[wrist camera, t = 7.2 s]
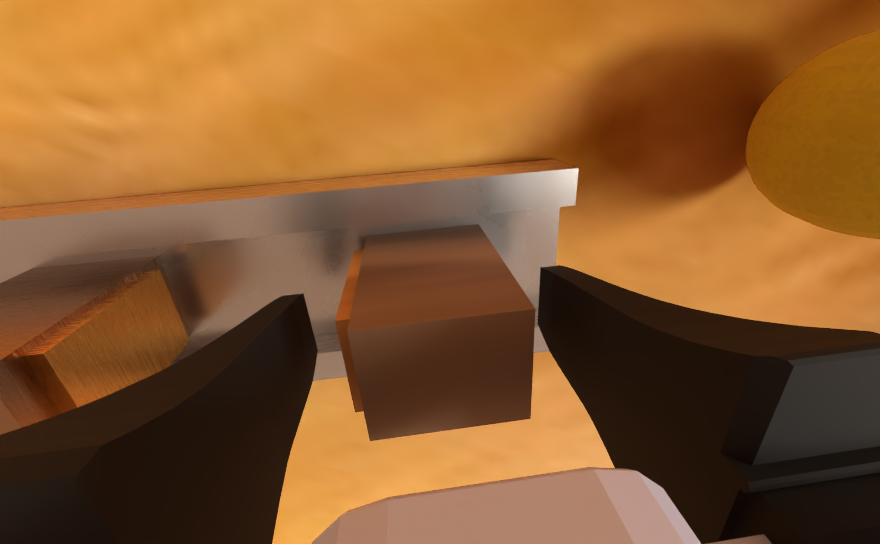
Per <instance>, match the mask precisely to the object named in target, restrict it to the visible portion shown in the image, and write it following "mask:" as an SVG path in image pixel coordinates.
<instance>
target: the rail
mask: <svg viewBox="0 0 880 544" xmlns="http://www.w3.org/2000/svg"><path fill="white" fill-rule="evenodd" d="M578 170H579V168H577V167H574V166H572V165H569V164H566V163H564V162H561V161H558V160H556V159H547V160H536V161H525V162H514V163H502V164H491V165H480V166H468V167H457V168H446V169H435V170H423V171H412V172H401V173H390V174H378V175H367V176H356V177H344V178H333V179H322V180H311V181H299V182H288V183H277V184H266V185H254V186H243V187H232V188H221V189H209V190H198V191H187V192H175V193H164V194H153V195H142V196H130V197H119V198H108V199H97V200H85V201H74V202H63V203H51V204H40V205H29V206H18V207H6V208H0V435H1V434H4V433H7V432H10V431H13V430H16V429H19V428H22V427H26V426H29V425H31V424H34V423H37V422H40V421H43V420H45V419H48V418H51V417H54V416H56V415H59V414H62V413H64V412H67V411H70V410H72V409H75V408H78V407H80V406H83V405H85V404H88V403H90V402H92V401H95V400H97V399H100V398H102V397H105V396H107V395H110V394H112V393H114V392H116V391H118V390H121V389H123V388H125V387H127V386H129V385H131V384H134V383H136V382H138V381H140V380H142V379H145V378H147V377H149V376H151V375H153V374H155V373H157V372H159V371H161V370H163V369H165V368H167V367H169V366H171V365H173V364H175V363H176V362H178V361H180V360H182V359H184V358H186V357H187V356H189V355H191V354H193V353H194V352H196V351H198V350H200V349H201V348H203V347H204V346H206V345H208V344H209V343H211V342H212V341H214V340H215V339H217V338H219V337H220V336H222V335H223V334H225V333H226V332H228V331H229V330H231V329H233V328H234V327H236V326H237V325H238V324H240V323H241V322H243V321H244V320H246V319H247V318H249V317H250V316H251V315H253V314H254V313H256V312H257V311H259V310H260V309H262V308H263V307H264V306H266V305H267V304H269V303H270V302H272V301H274V300H275V299H277V298H279V297H281V296H284V295H293V294H304V297H305V301H306V305H307V309H308V313H309V317H310V321H311V325H312V329H313V333H314V337H315V341H316V345H317V349H318V353H317V359H316V366H315V372H314V378H313V381H316V380H324V379H332V378H340V377H347V373H346V368H345V364H344V359H343V355H342V350H341V346H340V341H339V337H338V332H337V328H336V323H335V319H336V315H337V311H338V308H339V304H340V300H341V297H342V293H343V289H344V286H345V282H346V278H347V275H348V271H349V267H350V263H351V260H352V256H353V252H354V250H362V249H364V247H365V242H366V237H367V235H377V234H387V233H397V232H407V231H417V230H427V229H437V228H447V227H457V226H466V225H476V224H479V225H480V227H481V228H482V230H483V231H484V233H485V234H486V236H487V237H488V239H489V240H490V242H491V243H492V245H493V246H494V248H495V249H496V251H497V252H498V254H499V255H500V257H501V258H502V260H503V261H504V263H505V264H506V266H507V267H508V269H509V270H510V272H511V273H512V275H513V276H514V278H515V279H516V281H517V282H518V284H519V285H520V286H521V288H522V289H523V291H524V292H525V294H526V295H527V297H528V298H529V300H530V301H531V303H532V304H533V306H534V307H535V331H534V352H533V353H538V352H546V351H549V349H548V347H547V345H546V342H545V340H544V338H543V336H542V333H541V331H540V328H539V326H538V305H539V285H540V267H549V266H556V255H557V241H558V227H559V213H560V207H565V206H575V203H576V192H577V181H578Z"/></svg>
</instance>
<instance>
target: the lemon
mask: <svg viewBox="0 0 880 544" xmlns="http://www.w3.org/2000/svg"><path fill="white" fill-rule="evenodd" d="M745 154H746V162H747V167H748V171H749V173H750V175H751V177H752V180H753V182H754V184H755V185H756V187H757V188H758V189H759V191H760V192H761V193H762V194H763V195H764V196H765V197H766V198H767V199H769V200H770V201H771V202H772V203H773V204H774V205H775V206H777V207H778V208H779V209H781V210H782V211H784V212H786V213H788V214H790V215H792V216H794V217H797V218H799V219H801V220H804V221H806V222H809V223H811V224H813V225H816V226H818V227H821V228H824V229H827V230H831V231H835V232H839V233H843V234H848V235H853V236H859V237H867V238H874V239H880V30H877V31H873V32H870V33H867V34H864V35H861V36H858V37H855V38H852V39H850V40H847V41H844V42H842V43H840V44H838V45H836V46H834V47H832V48H830V49H828V50H826V51H824V52H823V53H821V54H819V55H818V56H816V57H814V58H812V59H811V60H809V61H807V62H806V63H804V64H803V65H801V66H800V67H798V68H797V69H796V70H795V71H794V72H792V73H791V74H790V75H789V76H788V77H787V78H785V79H784V80H783V81H782V82H781V83H780V84H779V85H777V86H776V87H775V88H774V90H773V91H772V92H771V93H770V94H769V96H768V97H767V98H766V99H765V101H764V102H763V103H762V105H761V107H760V108H759V110H758V112H757V114H756V115H755V117H754V119H753V121H752V124H751V126H750V129H749V132H748V135H747V142H746V149H745Z"/></svg>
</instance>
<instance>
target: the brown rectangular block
mask: <svg viewBox="0 0 880 544" xmlns="http://www.w3.org/2000/svg"><path fill="white" fill-rule="evenodd" d="M335 323H336V328H337V332H338V337H339V341H340V346H341V350H342V355H343V359H344V364H345V368H346V373H347V377H348V382H349V386H350V391H351V395H352V400H353V404H354V409H355V412H360V411H364V415H365V419H366V424H367V429H368V434H369V438H370V441H373V440H381V439H388V438H395V437H402V436H409V435H416V434H424V433H431V432H438V431H445V430H452V429H460V428H467V427H474V426H481V425H488V424H496V423H503V422H510V421H517V420H524V419H530V415H531V394H532V373H533V352H534V331H535V307H534V306H533V304H532V303H531V301H530V300H529V298H528V297H527V295H526V294H525V292H524V291H523V289H522V288H521V286H520V285H519V284H518V282H517V281H516V279H515V278H514V276H513V275H512V273H511V272H510V270H509V269H508V267H507V266H506V264H505V263H504V261H503V260H502V258H501V257H500V255H499V254H498V252H497V251H496V249H495V248H494V246H493V245H492V243H491V242H490V240H489V239H488V237H487V236H486V234H485V233H484V231H483V230H482V228H481V227H480V225H479V224H476V225H466V226H457V227H447V228H437V229H427V230H417V231H407V232H397V233H387V234H377V235H367V237H366V242H365V247H364V249H362V250H354V252H353V256H352V260H351V263H350V267H349V271H348V275H347V278H346V282H345V286H344V289H343V293H342V297H341V300H340V304H339V308H338V311H337V315H336V319H335Z"/></svg>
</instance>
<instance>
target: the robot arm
mask: <svg viewBox="0 0 880 544" xmlns="http://www.w3.org/2000/svg"><path fill="white" fill-rule="evenodd" d="M538 326H539V328H540V331H541V333H542V336H543V338H544V340H545V342H546V345H547V347H548V349H549V351H550V352H551V354H552V356H553V357H554V359H555V361H556V362H557V364H558V365H559V367H560V369H561V370H562V372H563V373H564V375H565V377H566V378H567V380H568V381H569V383H570V384H571V386H572V388H573V389H574V391H575V392H576V394H577V395H578V397H579V399H580V400H581V402H582V403H583V405H584V407H585V408H586V410H587V412H588V414H589V415H590V417H591V419H592V421H593V423H594V425H595V427H596V429H597V431H598V433H599V435H600V437H601V439H602V441H603V443H604V445H605V447H606V449H607V452H608V454H609V456H610V458H611V460H612V462H613V465H614V467H615V468H593V467H588V468H581V469H574V470H567V471H561V472H554V473H547V474H541V475H534V476H527V477H521V478H514V479H507V480H500V481H494V482H487V483H480V484H474V485H467V486H460V487H454V488H447V489H440V490H433V491H427V492H420V493H413V494H407V495H400V496H393V497H388V498H385V499H382V500H379V501H376V502H373V503H370V504H367V505H364V506H361V507H358V508H355V509H352V510H349V511H347V512H346V513H344V514H343V515H341V516H340V517H339V518H338V519H337V520H336V521H335V522H333V523H332V524H331V525H330V526H329V527H328V528H327V529H326V530H325V531H324V532H323V533H322V534H321V535H320V536H319V537H317V538H316V539H315V540H314V541H313V542H312V544H880V334H878V333H875V332H870V331H858V330H844V329H831V328H817V327H804V326H794V325H786V324H778V323H770V322H762V321H755V320H748V319H742V318H736V317H730V316H725V315H720V314H715V313H709V312H704V311H700V310H695V309H691V308H687V307H683V306H679V305H675V304H671V303H668V302H664V301H660V300H657V299H654V298H650V297H647V296H644V295H641V294H638V293H635V292H632V291H629V290H627V289H624V288H621V287H618V286H616V285H613V284H611V283H608V282H605V281H603V280H600V279H598V278H595V277H593V276H590V275H587V274H585V273H582V272H580V271H577V270H574V269H571V268H568V267H565V266H560V265H559V266H549V267H540V285H539V305H538ZM317 353H318V349H317V345H316V341H315V337H314V333H313V329H312V325H311V321H310V317H309V313H308V309H307V305H306V301H305V297H304V294H293V295H284V296H281V297H279V298H277V299H275V300H274V301H272V302H270V303H269V304H267V305H266V306H264V307H263V308H262V309H260V310H259V311H257V312H256V313H254V314H253V315H251V316H250V317H249V318H247V319H246V320H244V321H243V322H241V323H240V324H238V325H237V326H236V327H234V328H233V329H231V330H229V331H228V332H226V333H225V334H223V335H222V336H220V337H219V338H217V339H215V340H214V341H212V342H211V343H209V344H208V345H206V346H204V347H203V348H201V349H200V350H198V351H196V352H194V353H193V354H191V355H189V356H187V357H186V358H184V359H182V360H180V361H178V362H176V363H175V364H173V365H171V366H169V367H167V368H165V369H163V370H161V371H159V372H157V373H155V374H153V375H151V376H149V377H147V378H145V379H142V380H140V381H138V382H136V383H134V384H131V385H129V386H127V387H125V388H123V389H121V390H118V391H116V392H114V393H112V394H110V395H107V396H105V397H102V398H100V399H97V400H95V401H92V402H90V403H88V404H85V405H83V406H80V407H78V408H75V409H72V410H70V411H67V412H64V413H62V414H59V415H56V416H54V417H51V418H48V419H45V420H43V421H40V422H37V423H34V424H31V425H29V426H26V427H22V428H19V429H16V430H13V431H10V432H7V433H4V434H1V435H0V544H272V540H273V535H274V529H275V524H276V518H277V513H278V507H279V502H280V496H281V491H282V487H283V482H284V477H285V472H286V467H287V462H288V459H289V455H290V451H291V448H292V444H293V441H294V438H295V435H296V432H297V429H298V426H299V423H300V419H301V416H302V413H303V410H304V407H305V404H306V401H307V398H308V394H309V391H310V388H311V385H312V381H313V378H314V372H315V366H316V359H317Z"/></svg>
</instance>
